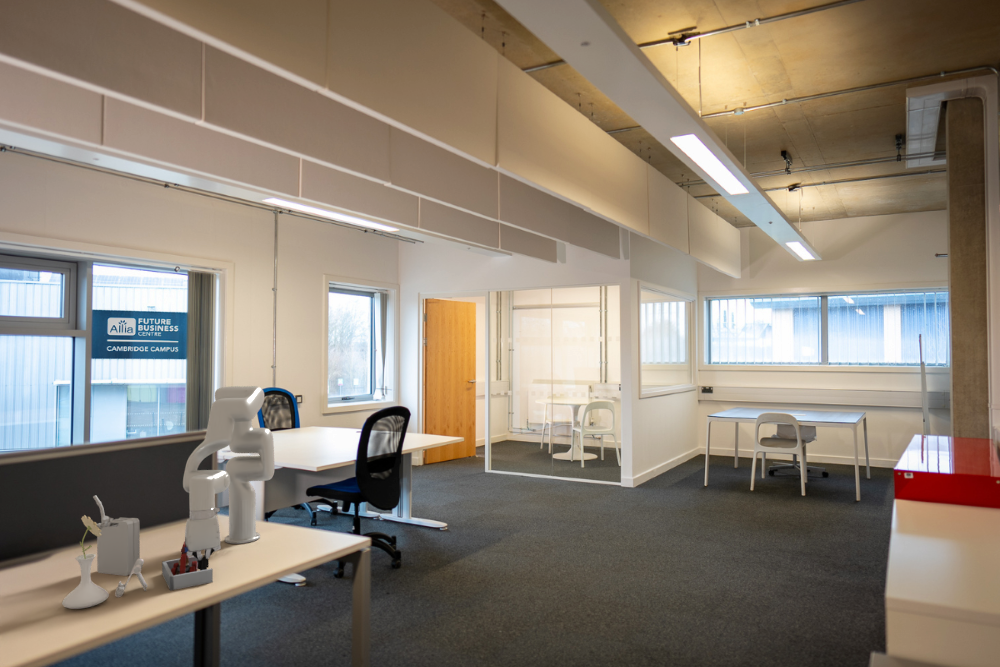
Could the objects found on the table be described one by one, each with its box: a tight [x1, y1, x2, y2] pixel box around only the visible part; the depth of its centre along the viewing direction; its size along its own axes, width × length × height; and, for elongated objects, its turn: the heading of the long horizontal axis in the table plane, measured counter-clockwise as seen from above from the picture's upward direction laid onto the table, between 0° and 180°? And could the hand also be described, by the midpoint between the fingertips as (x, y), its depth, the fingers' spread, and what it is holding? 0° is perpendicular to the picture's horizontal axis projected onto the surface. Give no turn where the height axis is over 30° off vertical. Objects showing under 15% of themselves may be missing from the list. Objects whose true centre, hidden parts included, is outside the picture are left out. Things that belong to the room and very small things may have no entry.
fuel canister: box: [92, 495, 141, 577], centre depth 218 cm, size 15×5×25 cm, turn 73°
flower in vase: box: [61, 514, 110, 610], centre depth 191 cm, size 13×11×25 cm
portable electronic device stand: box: [114, 557, 148, 598], centre depth 200 cm, size 9×8×8 cm
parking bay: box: [161, 554, 214, 591], centre depth 211 cm, size 18×12×4 cm, turn 34°
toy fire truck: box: [171, 540, 198, 576], centre depth 211 cm, size 7×12×10 cm, turn 19°
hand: (203, 570), depth 213 cm, fingers closed
